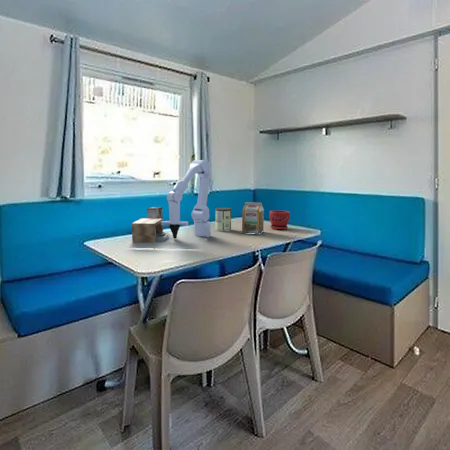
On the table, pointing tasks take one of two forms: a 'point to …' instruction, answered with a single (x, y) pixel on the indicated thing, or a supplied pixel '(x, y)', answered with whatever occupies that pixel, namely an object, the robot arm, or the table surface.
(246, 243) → the table surface
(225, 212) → the coffee can
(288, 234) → the table surface
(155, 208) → the coffee box
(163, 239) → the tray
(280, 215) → the plant pot
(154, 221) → the brown boxy block
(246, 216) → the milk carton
